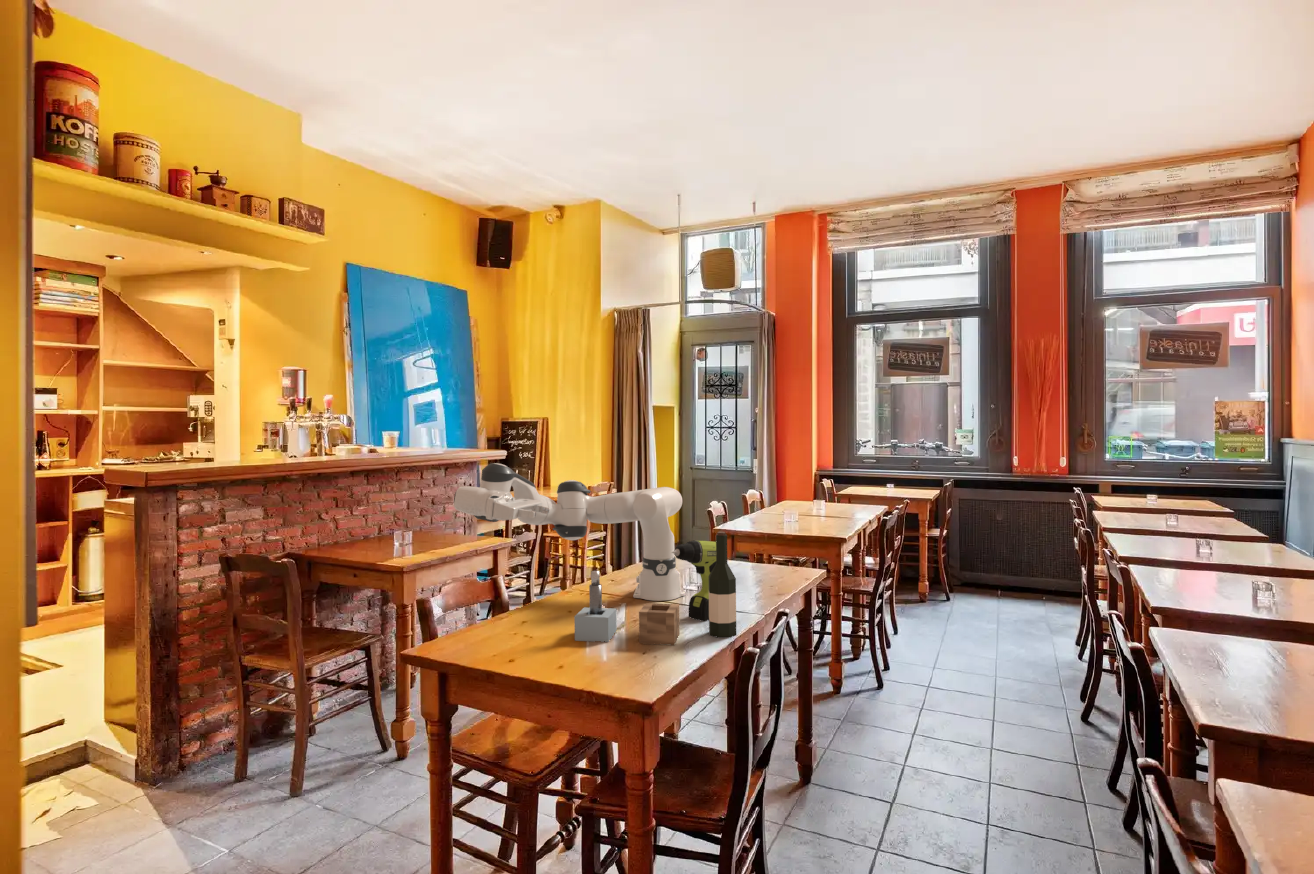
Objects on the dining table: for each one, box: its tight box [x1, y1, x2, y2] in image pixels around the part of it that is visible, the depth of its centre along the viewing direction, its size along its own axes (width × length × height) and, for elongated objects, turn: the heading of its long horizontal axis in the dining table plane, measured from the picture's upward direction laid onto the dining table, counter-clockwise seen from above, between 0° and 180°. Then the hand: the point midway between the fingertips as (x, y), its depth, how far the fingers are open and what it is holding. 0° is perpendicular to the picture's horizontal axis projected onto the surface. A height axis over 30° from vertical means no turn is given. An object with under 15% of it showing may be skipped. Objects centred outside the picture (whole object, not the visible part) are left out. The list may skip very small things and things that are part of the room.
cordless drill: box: [672, 539, 716, 622], centre depth 224 cm, size 23×7×25 cm, turn 134°
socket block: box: [574, 606, 618, 643], centre depth 207 cm, size 10×10×7 cm
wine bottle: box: [708, 531, 737, 638], centre depth 208 cm, size 8×8×30 cm
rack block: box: [638, 602, 680, 646], centre depth 203 cm, size 10×10×9 cm
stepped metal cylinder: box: [588, 570, 603, 615], centre depth 207 cm, size 4×4×16 cm
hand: (542, 512), depth 214 cm, fingers open, 8 cm apart
